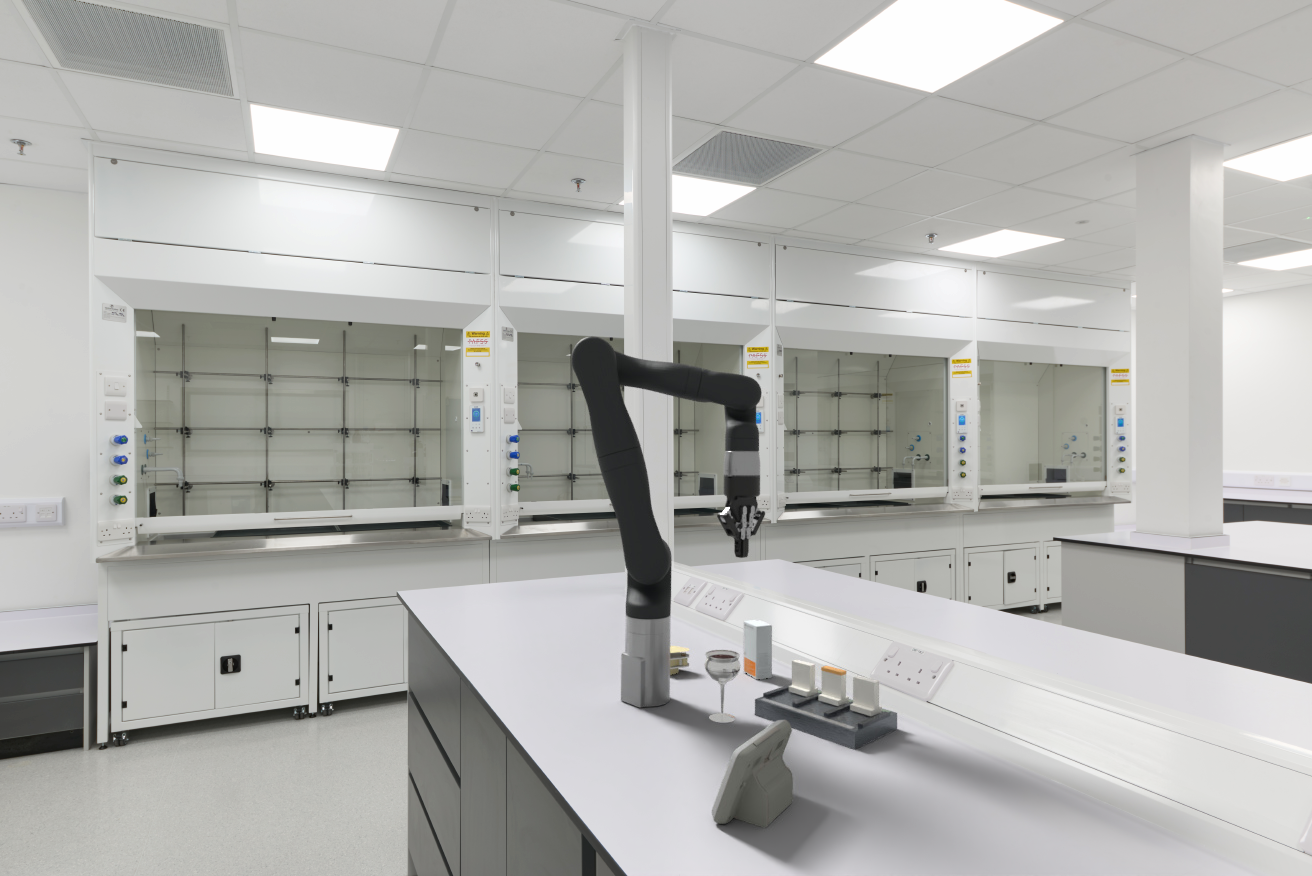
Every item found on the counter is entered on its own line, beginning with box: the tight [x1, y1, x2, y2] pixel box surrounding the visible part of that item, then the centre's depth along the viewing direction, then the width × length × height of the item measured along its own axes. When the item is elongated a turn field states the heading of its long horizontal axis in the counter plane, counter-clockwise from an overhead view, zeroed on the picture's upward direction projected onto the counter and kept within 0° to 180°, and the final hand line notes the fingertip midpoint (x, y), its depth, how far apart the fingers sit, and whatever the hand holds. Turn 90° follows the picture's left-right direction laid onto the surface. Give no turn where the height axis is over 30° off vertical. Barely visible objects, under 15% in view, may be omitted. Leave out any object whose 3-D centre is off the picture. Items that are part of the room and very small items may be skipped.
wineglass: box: [704, 649, 741, 724], centre depth 138 cm, size 7×7×12 cm
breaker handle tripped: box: [818, 665, 850, 706], centre depth 138 cm, size 4×4×6 cm
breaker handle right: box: [850, 675, 883, 716], centre depth 133 cm, size 4×4×6 cm
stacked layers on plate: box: [670, 645, 690, 676], centre depth 167 cm, size 10×9×6 cm
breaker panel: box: [754, 683, 898, 750], centre depth 136 cm, size 14×22×4 cm, turn 42°
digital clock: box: [711, 720, 794, 828], centre depth 102 cm, size 16×9×11 cm, turn 134°
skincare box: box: [742, 619, 773, 680], centre depth 165 cm, size 6×4×12 cm
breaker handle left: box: [789, 659, 819, 697], centre depth 143 cm, size 4×4×6 cm
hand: (741, 557), depth 149 cm, fingers closed
